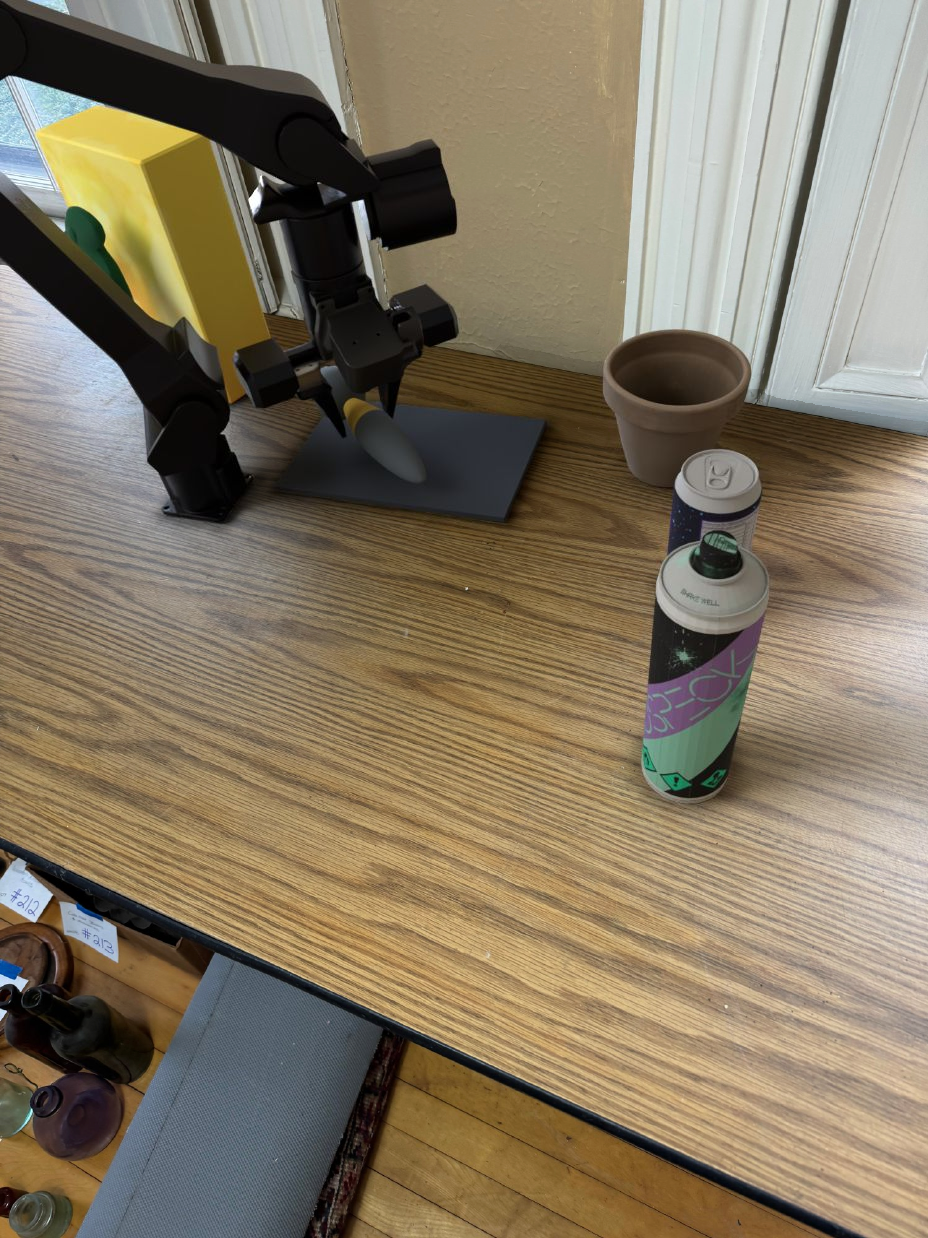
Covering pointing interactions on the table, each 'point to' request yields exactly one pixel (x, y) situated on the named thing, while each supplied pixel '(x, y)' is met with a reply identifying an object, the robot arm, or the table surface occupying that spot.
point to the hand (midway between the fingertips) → (366, 426)
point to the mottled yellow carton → (158, 224)
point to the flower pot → (672, 397)
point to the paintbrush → (375, 430)
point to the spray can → (701, 664)
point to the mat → (451, 453)
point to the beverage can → (715, 498)
